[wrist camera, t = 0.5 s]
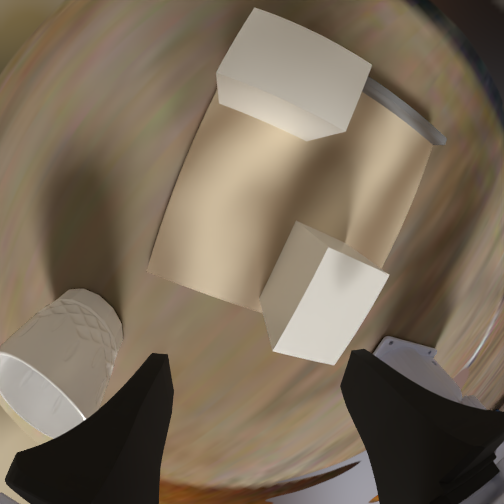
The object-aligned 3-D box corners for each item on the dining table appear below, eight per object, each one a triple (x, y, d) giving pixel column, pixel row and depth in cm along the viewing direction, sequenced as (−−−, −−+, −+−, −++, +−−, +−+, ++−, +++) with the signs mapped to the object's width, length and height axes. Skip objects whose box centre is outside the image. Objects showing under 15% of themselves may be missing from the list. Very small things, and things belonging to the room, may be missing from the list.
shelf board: (428, 139, 17) (446, 138, 15) (338, 331, 22) (348, 346, 20) (249, 34, 14) (252, 19, 12) (149, 267, 19) (140, 280, 16)
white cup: (64, 262, 18) (-15, 325, 8) (144, 315, 20) (102, 412, 10) (46, 328, 19) (-8, 395, 10) (114, 372, 21) (81, 456, 12)
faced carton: (245, 52, 14) (255, 6, 8) (329, 90, 15) (372, 64, 10) (218, 103, 15) (216, 72, 9) (306, 141, 16) (345, 131, 11)
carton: (345, 243, 19) (390, 275, 13) (308, 314, 20) (335, 365, 14) (295, 220, 18) (328, 247, 12) (259, 298, 19) (272, 350, 14)
